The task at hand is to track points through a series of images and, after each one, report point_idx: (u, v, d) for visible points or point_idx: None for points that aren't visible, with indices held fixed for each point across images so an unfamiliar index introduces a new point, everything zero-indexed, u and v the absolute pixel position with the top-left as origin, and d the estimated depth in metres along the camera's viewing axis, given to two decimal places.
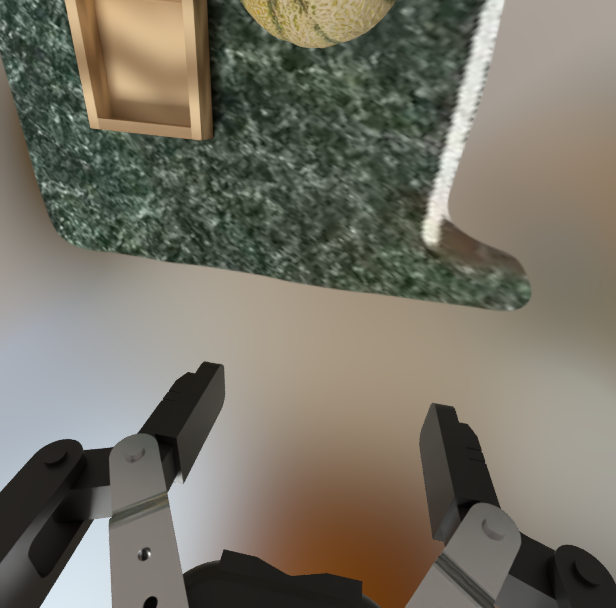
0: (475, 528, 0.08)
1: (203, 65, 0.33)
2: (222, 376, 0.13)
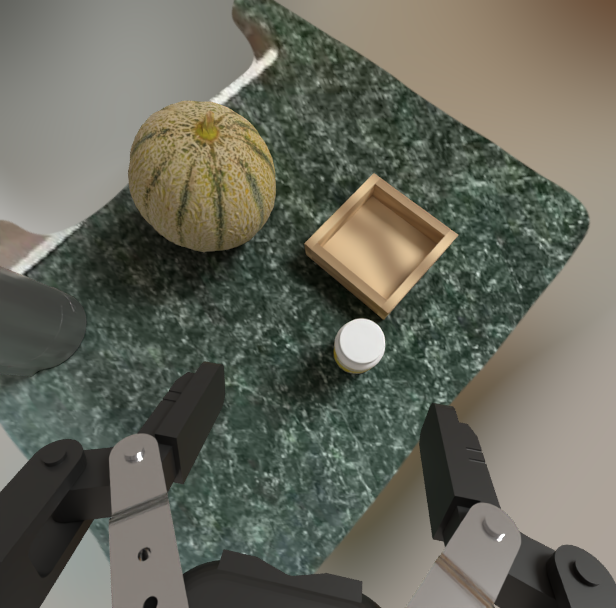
0: (475, 528, 0.08)
1: None
2: (222, 376, 0.13)
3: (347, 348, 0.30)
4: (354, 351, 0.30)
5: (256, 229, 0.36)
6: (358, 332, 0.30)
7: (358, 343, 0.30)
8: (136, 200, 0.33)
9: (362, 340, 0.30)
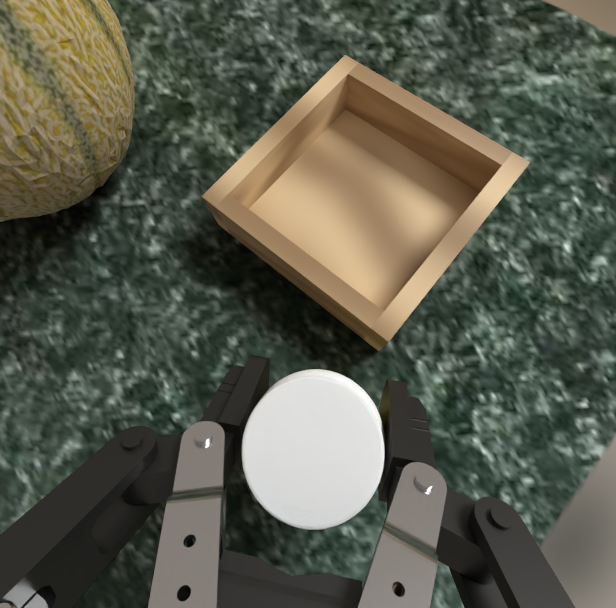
0: (409, 488, 0.09)
1: None
2: (268, 369, 0.14)
3: (265, 478, 0.09)
4: (288, 489, 0.09)
5: (74, 160, 0.16)
6: (299, 421, 0.10)
7: (300, 459, 0.09)
8: None
9: (313, 448, 0.09)
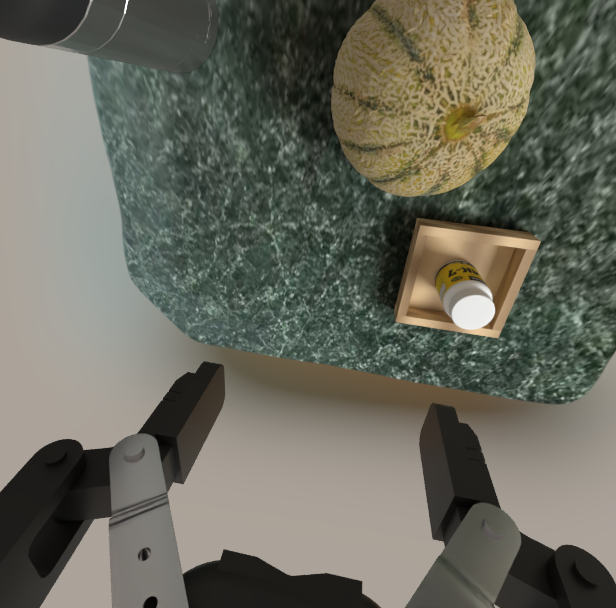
0: (475, 528, 0.08)
1: (472, 228, 0.37)
2: (222, 376, 0.13)
3: (459, 306, 0.33)
4: (459, 312, 0.34)
5: None
6: (478, 306, 0.33)
7: (468, 311, 0.34)
8: (339, 66, 0.25)
9: (473, 313, 0.34)
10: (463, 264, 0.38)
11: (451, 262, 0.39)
